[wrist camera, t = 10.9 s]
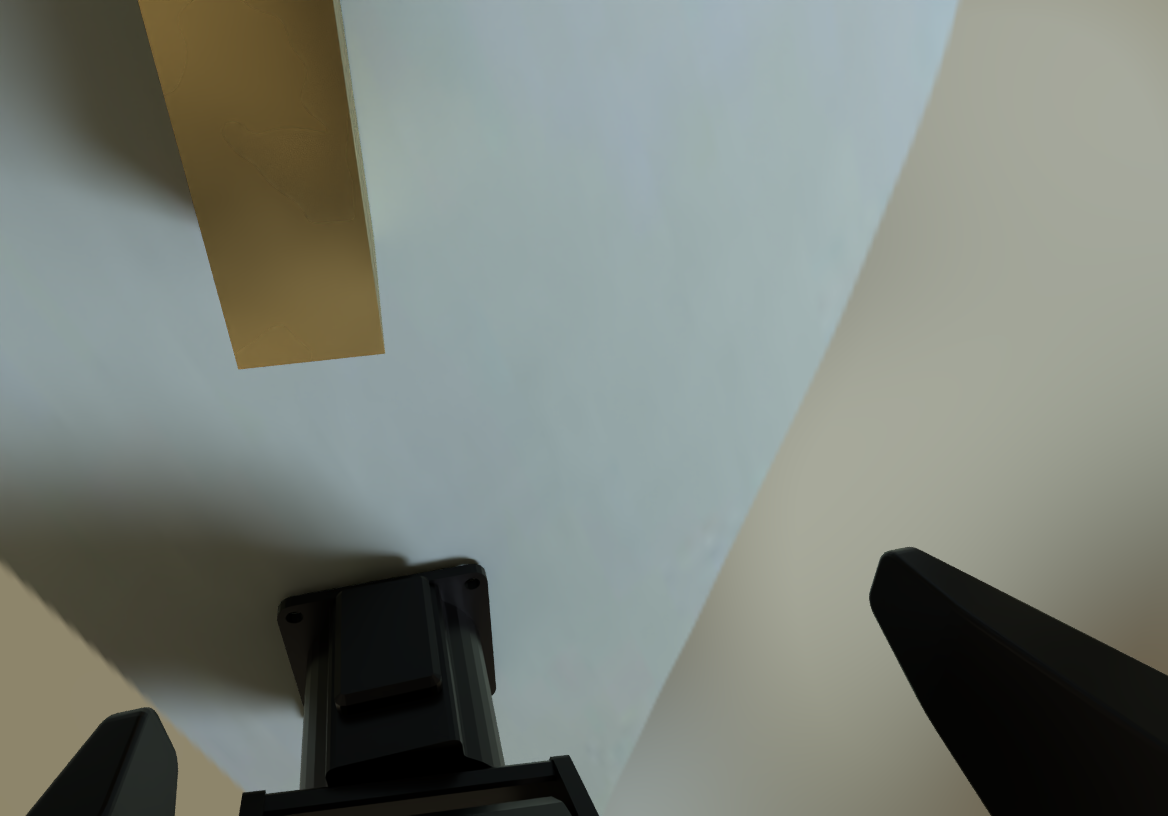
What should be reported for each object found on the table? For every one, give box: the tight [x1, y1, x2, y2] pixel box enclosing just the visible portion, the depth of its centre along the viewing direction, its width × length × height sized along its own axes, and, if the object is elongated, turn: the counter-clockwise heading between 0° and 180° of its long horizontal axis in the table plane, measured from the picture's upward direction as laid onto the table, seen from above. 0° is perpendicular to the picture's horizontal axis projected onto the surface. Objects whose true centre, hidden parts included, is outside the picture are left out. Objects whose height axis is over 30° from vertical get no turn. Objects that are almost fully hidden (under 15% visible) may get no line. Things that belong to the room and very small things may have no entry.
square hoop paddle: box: [138, 0, 385, 369], centre depth 12 cm, size 10×4×8 cm, turn 179°
